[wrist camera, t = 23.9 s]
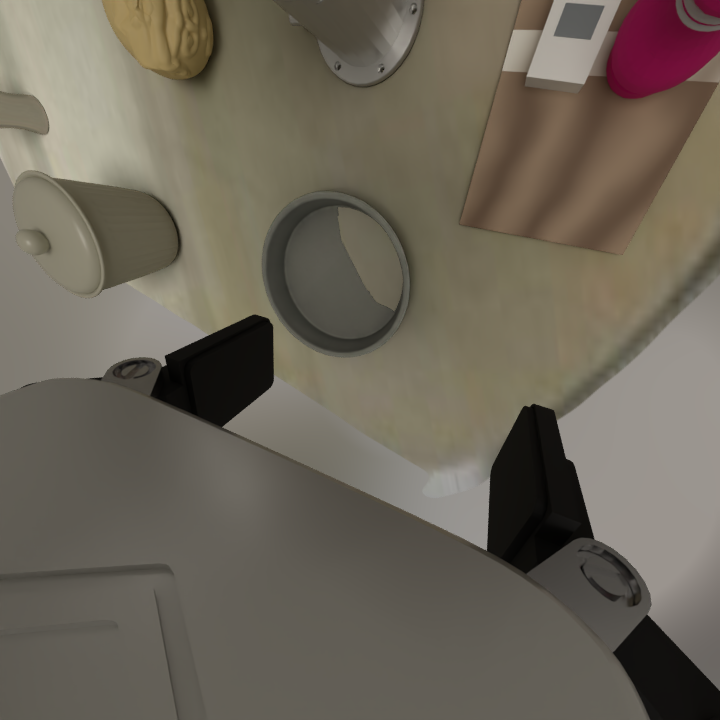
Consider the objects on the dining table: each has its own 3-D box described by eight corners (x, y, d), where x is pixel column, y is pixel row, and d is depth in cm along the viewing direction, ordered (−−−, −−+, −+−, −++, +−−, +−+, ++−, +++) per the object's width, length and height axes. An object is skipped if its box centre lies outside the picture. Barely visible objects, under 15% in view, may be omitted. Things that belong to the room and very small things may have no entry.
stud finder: (524, 86, 31) (526, 76, 29) (555, 0, 28) (560, -20, 25) (577, 93, 30) (584, 84, 27) (616, 5, 27) (628, -16, 24)
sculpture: (225, 99, 44) (156, 74, 36) (161, 75, 47) (81, 46, 38) (230, -16, 38) (148, -81, 29) (156, -38, 40) (59, -105, 31)
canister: (205, 224, 55) (70, 236, 38) (180, 295, 66) (65, 329, 48) (130, 153, 55) (-41, 132, 38) (117, 235, 65) (-21, 249, 48)
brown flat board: (460, 223, 40) (459, 224, 39) (531, -31, 29) (533, -41, 27) (618, 253, 35) (622, 255, 34) (778, -39, 24) (793, -52, 23)
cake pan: (386, 369, 54) (377, 382, 51) (270, 314, 59) (254, 321, 55) (444, 225, 41) (438, 228, 37) (288, 168, 46) (269, 166, 42)
